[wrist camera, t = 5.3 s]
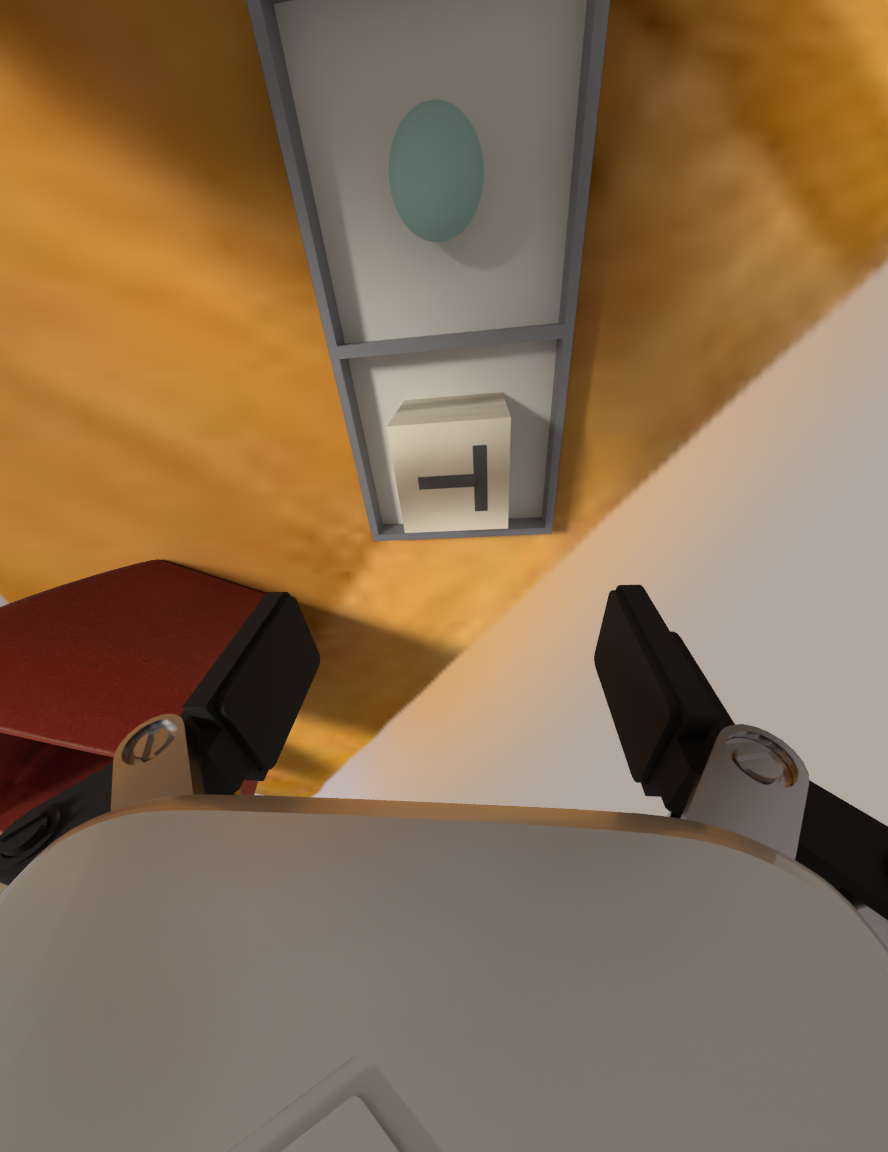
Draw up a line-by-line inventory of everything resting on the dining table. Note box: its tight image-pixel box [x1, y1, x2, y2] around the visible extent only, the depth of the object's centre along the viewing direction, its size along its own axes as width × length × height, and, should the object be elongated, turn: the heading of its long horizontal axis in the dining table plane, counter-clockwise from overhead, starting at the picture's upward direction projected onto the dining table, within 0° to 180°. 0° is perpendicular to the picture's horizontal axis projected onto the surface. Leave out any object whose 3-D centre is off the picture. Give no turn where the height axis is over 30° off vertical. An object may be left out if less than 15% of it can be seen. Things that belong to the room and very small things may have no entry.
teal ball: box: [389, 99, 484, 242], centre depth 15 cm, size 4×4×4 cm
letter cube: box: [387, 392, 511, 533], centre depth 21 cm, size 6×6×6 cm
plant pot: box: [0, 560, 266, 833], centre depth 30 cm, size 19×19×17 cm
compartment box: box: [246, 0, 610, 541], centre depth 20 cm, size 24×13×2 cm, turn 5°
